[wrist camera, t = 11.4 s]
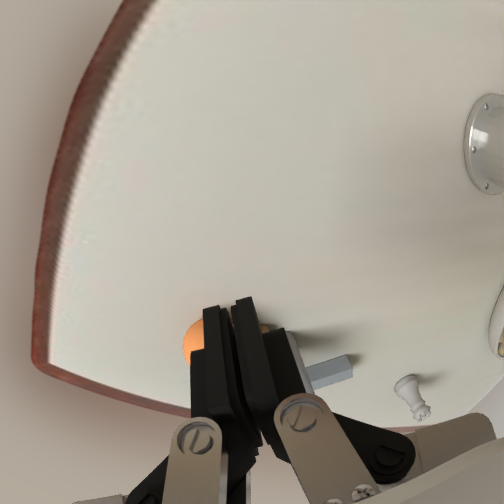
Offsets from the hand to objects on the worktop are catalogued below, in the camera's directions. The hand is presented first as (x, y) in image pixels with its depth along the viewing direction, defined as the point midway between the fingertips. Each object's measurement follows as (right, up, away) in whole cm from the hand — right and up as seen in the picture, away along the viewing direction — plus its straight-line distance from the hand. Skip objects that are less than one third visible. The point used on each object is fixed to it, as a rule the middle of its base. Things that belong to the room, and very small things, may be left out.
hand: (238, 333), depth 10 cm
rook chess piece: (+26, -19, +34) cm, 48 cm away
